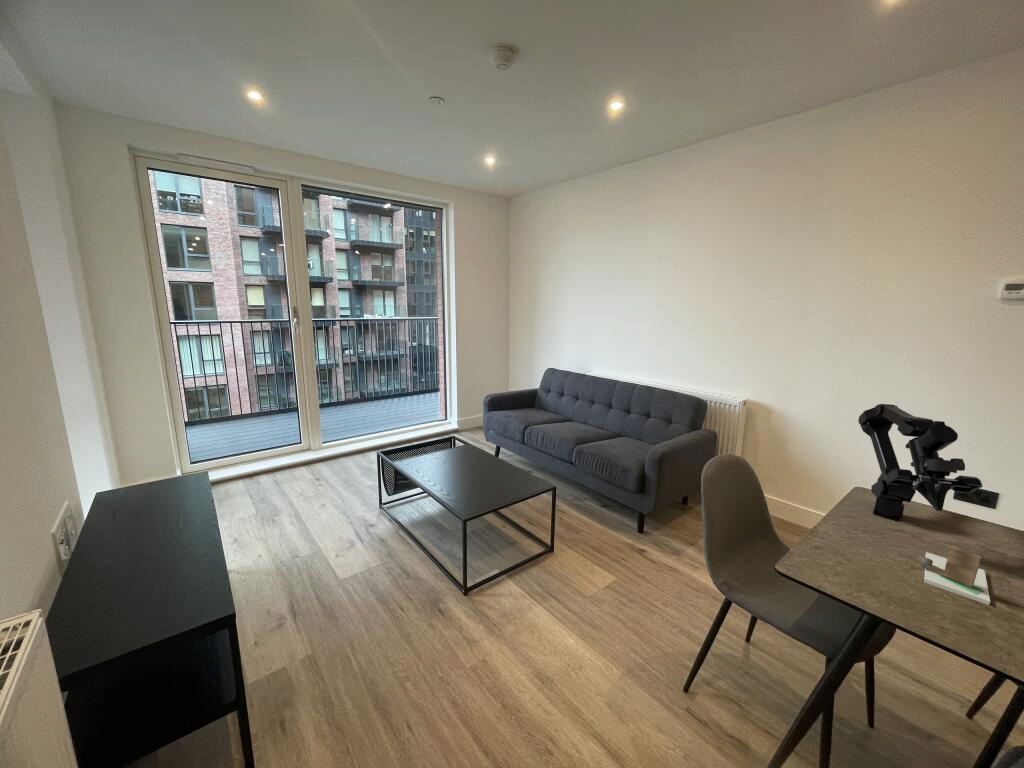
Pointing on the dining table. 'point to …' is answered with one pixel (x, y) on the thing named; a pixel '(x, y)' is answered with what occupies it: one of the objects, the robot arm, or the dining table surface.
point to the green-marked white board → (953, 585)
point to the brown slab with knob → (957, 566)
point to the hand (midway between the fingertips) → (939, 510)
